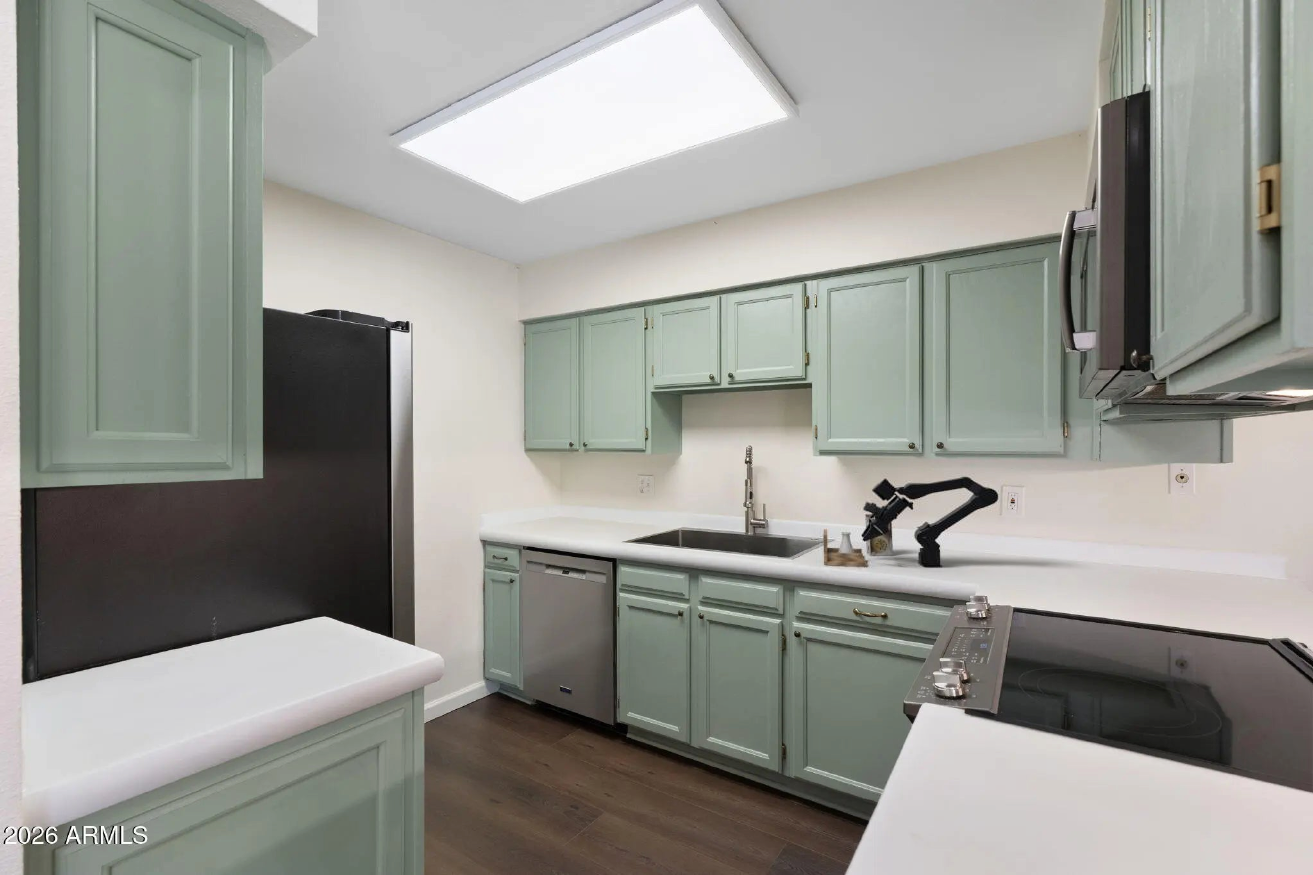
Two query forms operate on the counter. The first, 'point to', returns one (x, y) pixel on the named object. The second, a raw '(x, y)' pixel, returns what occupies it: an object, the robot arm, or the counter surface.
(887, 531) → the robot arm
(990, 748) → the counter surface
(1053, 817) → the counter surface
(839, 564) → the spice stand
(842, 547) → the flask
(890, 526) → the coffee box
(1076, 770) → the counter surface
